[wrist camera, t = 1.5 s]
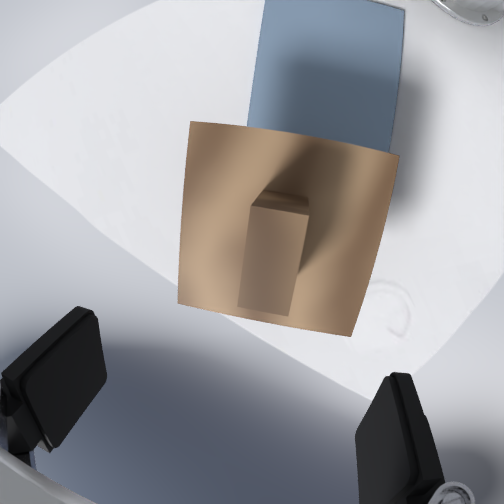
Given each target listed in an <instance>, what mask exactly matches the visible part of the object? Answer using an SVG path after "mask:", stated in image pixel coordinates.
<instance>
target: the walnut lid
mask: <svg viewBox="0 0 504 504" xmlns="http://www.w3.org/2000/svg"><path fill="white" fill-rule="evenodd" d="M398 161H399V156H398V155H394V154H391V153H387V152H383V151H379V150H374V149H370V148H366V147H362V146H357V145H353V144H348V143H343V142H338V141H333V140H328V139H323V138H318V137H312V136H307V135H301V134H295V133H289V132H283V131H276V130H269V129H262V128H254V127H246V126H237V125H228V124H218V123H207V122H195V121H190V129H189V138H188V147H187V157H186V168H185V179H184V191H183V203H182V217H181V233H180V252H179V275H178V304H182V305H186V306H191V307H196V308H200V309H204V310H209V311H213V312H218V313H222V314H227V315H232V316H236V317H241V318H246V319H251V320H256V321H261V322H266V323H272V324H277V325H282V326H288V327H293V328H299V329H305V330H310V331H316V332H322V333H329V334H335V335H341V336H348V337H351V335H352V332H353V329H354V327H355V324H356V321H357V318H358V315H359V312H360V309H361V306H362V303H363V300H364V296H365V293H366V290H367V287H368V284H369V280H370V277H371V274H372V270H373V267H374V263H375V260H376V256H377V252H378V249H379V245H380V241H381V237H382V234H383V230H384V226H385V222H386V217H387V213H388V209H389V205H390V200H391V196H392V191H393V186H394V182H395V177H396V172H397V167H398Z"/></svg>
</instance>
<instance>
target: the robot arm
mask: <svg viewBox="0 0 504 504" xmlns="http://www.w3.org/2000/svg"><path fill="white" fill-rule="evenodd" d="M432 1H433V2H434V3H435V4H436V5H438V6H439V7H440V8H441V9H442V10H444V11H445V12H447V13H448V14H450V15H451V16H453V17H455V18H457V19H459V20H461V21H463V22H466V23H468V24H472V25H477V26H487V25H491V24H493V23H495V22H497V21H499V20H500V19H501V18H502V17H503V15H504V0H432ZM1 374H2V377H3V378H2V379H1V380H0V504H97V503H94V502H92V501H90V500H88V499H86V498H84V497H82V496H80V495H78V494H76V493H74V492H72V491H71V490H69V489H67V488H65V487H63V486H61V485H60V484H58V483H56V482H54V481H53V480H51V479H49V478H48V477H46V476H44V475H43V474H41V473H39V472H38V471H37V470H36V463H35V456H34V448H35V447H36V446H37V445H38V446H39V447H40V448H42V449H44V450H45V451H47V452H49V453H50V452H51V451H52V450H53V448H57V447H59V446H60V444H61V443H62V441H63V440H64V439H65V437H66V436H67V435H68V433H69V432H70V430H71V429H72V428H73V426H74V425H75V423H76V422H77V421H78V419H79V417H80V416H81V415H82V414H83V412H84V411H85V410H86V408H87V407H88V406H89V404H90V403H91V402H92V400H93V399H94V397H95V396H96V395H97V393H98V392H99V391H100V389H101V388H102V387H103V385H104V384H105V382H106V379H107V372H106V367H105V361H104V356H103V350H102V344H101V338H100V331H99V323H98V318H97V317H96V316H95V314H94V312H93V311H92V310H89V309H86V308H83V307H80V306H77V307H75V308H74V309H73V310H72V311H70V312H69V313H68V314H67V315H66V316H64V317H63V318H62V319H61V320H60V321H58V322H57V323H56V324H55V325H54V326H53V327H52V328H50V329H49V330H48V331H47V332H46V333H45V334H43V335H42V336H41V337H40V338H39V339H38V340H37V341H36V342H34V343H33V344H32V345H31V346H30V347H29V348H28V349H27V350H26V351H24V352H23V353H22V354H21V355H20V356H19V357H18V358H17V359H16V360H15V361H14V362H13V363H12V364H10V365H9V366H8V367H7V368H6V369H5V370H4V371H3V372H2V373H1ZM355 443H356V456H357V469H358V485H359V504H475V499H474V496H473V493H472V492H471V490H470V489H469V488H468V487H467V486H465V485H464V484H461V483H459V482H448V483H445V480H444V476H443V472H442V468H441V464H440V461H439V457H438V453H437V450H436V447H435V443H434V439H433V436H432V433H431V430H430V426H429V423H428V420H427V418H426V416H425V415H424V413H423V410H422V406H421V404H420V400H419V397H418V395H417V391H416V389H415V386H414V383H413V380H412V377H411V375H410V374H409V373H398V372H392V373H391V374H390V376H386V377H385V378H384V379H383V381H382V383H381V385H380V387H379V389H378V391H377V393H376V395H375V397H374V399H373V401H372V403H371V405H370V407H369V409H368V410H367V412H366V414H365V416H364V418H363V419H362V421H361V423H360V425H359V426H358V428H357V431H356V434H355Z"/></svg>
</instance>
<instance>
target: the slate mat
mask: <svg viewBox="0 0 504 504" xmlns="http://www.w3.org/2000/svg"><path fill="white" fill-rule="evenodd" d="M403 22H404V11H403V10H400V9H397V8H393V7H390V6H386V5H382V4H379V3H375V2H371V1H366V0H265V5H264V11H263V18H262V24H261V31H260V37H259V44H258V51H257V57H256V64H255V71H254V78H253V85H252V92H251V99H250V107H249V114H248V121H247V127H254V128H262V129H269V130H276V131H283V132H289V133H295V134H301V135H307V136H312V137H318V138H323V139H328V140H333V141H338V142H343V143H348V144H353V145H357V146H362V147H366V148H370V149H374V150H379V151H383V152H387V153H389V148H390V142H391V136H392V129H393V123H394V116H395V109H396V101H397V93H398V85H399V75H400V65H401V54H402V40H403Z"/></svg>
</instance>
